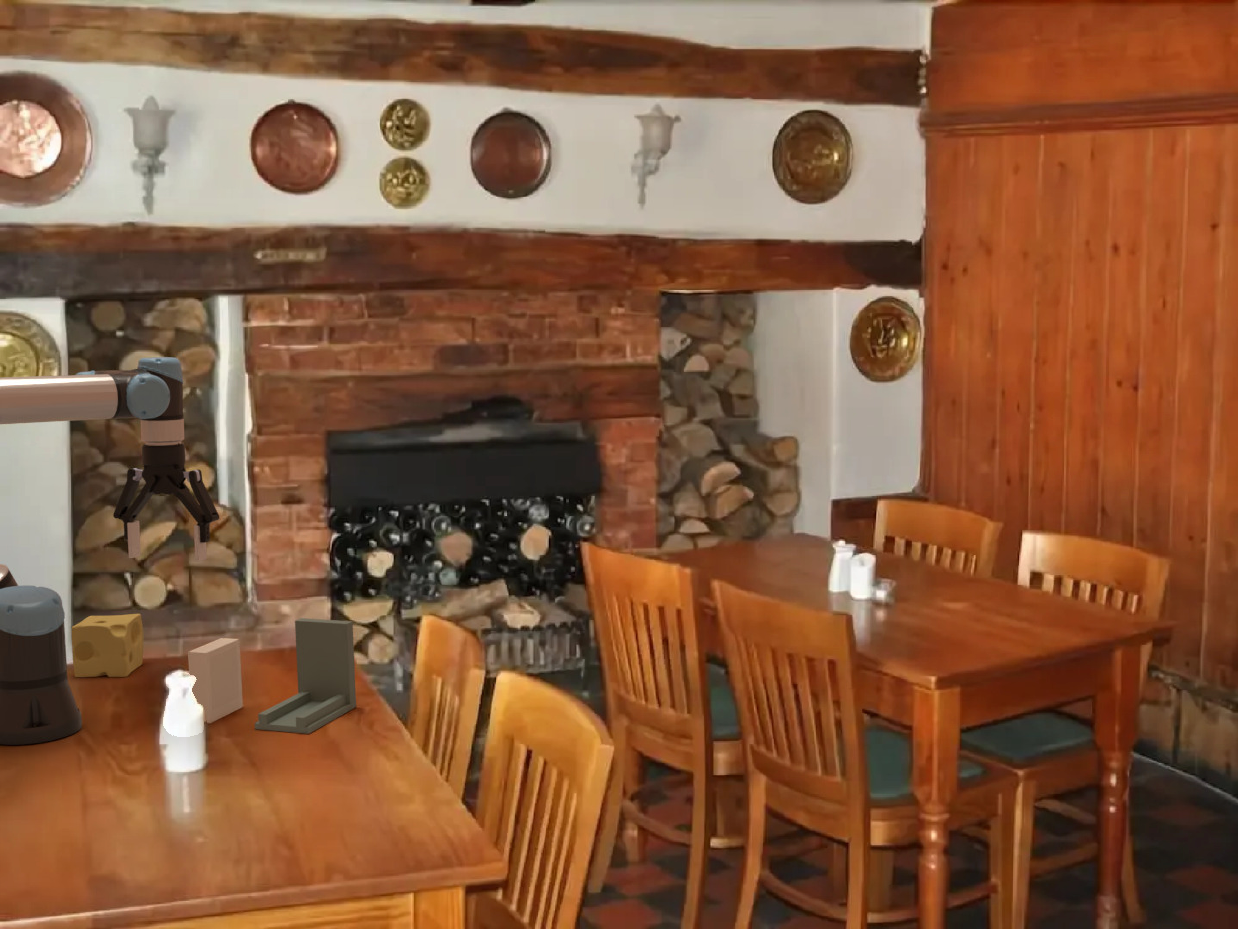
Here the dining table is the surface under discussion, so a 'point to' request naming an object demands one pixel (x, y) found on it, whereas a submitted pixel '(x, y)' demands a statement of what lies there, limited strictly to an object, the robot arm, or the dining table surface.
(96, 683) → the dining table surface
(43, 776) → the dining table surface
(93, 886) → the dining table surface
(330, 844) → the dining table surface
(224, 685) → the door
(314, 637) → the track
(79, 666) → the cheese
